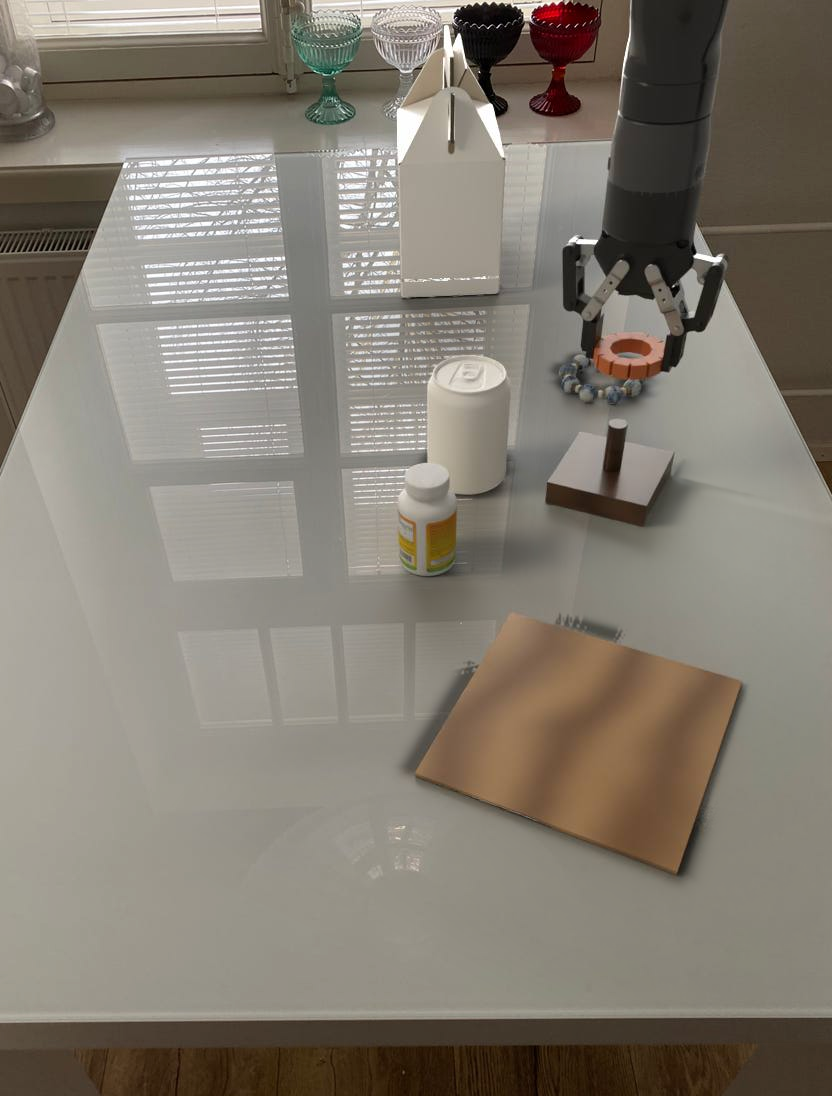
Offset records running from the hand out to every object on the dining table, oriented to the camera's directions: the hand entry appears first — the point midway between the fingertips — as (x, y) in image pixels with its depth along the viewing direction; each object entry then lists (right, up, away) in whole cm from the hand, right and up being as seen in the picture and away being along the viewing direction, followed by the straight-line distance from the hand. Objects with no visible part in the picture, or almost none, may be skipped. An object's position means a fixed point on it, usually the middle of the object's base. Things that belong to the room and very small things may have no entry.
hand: (629, 360), depth 91 cm
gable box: (-12, +28, +51) cm, 59 cm away
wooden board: (-7, -33, -13) cm, 36 cm away
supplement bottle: (-18, -18, +3) cm, 26 cm away
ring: (0, 0, 0) cm, 0 cm away
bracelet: (+3, +4, +24) cm, 25 cm away
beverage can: (-14, -9, +13) cm, 21 cm away
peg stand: (+1, -10, +10) cm, 14 cm away
